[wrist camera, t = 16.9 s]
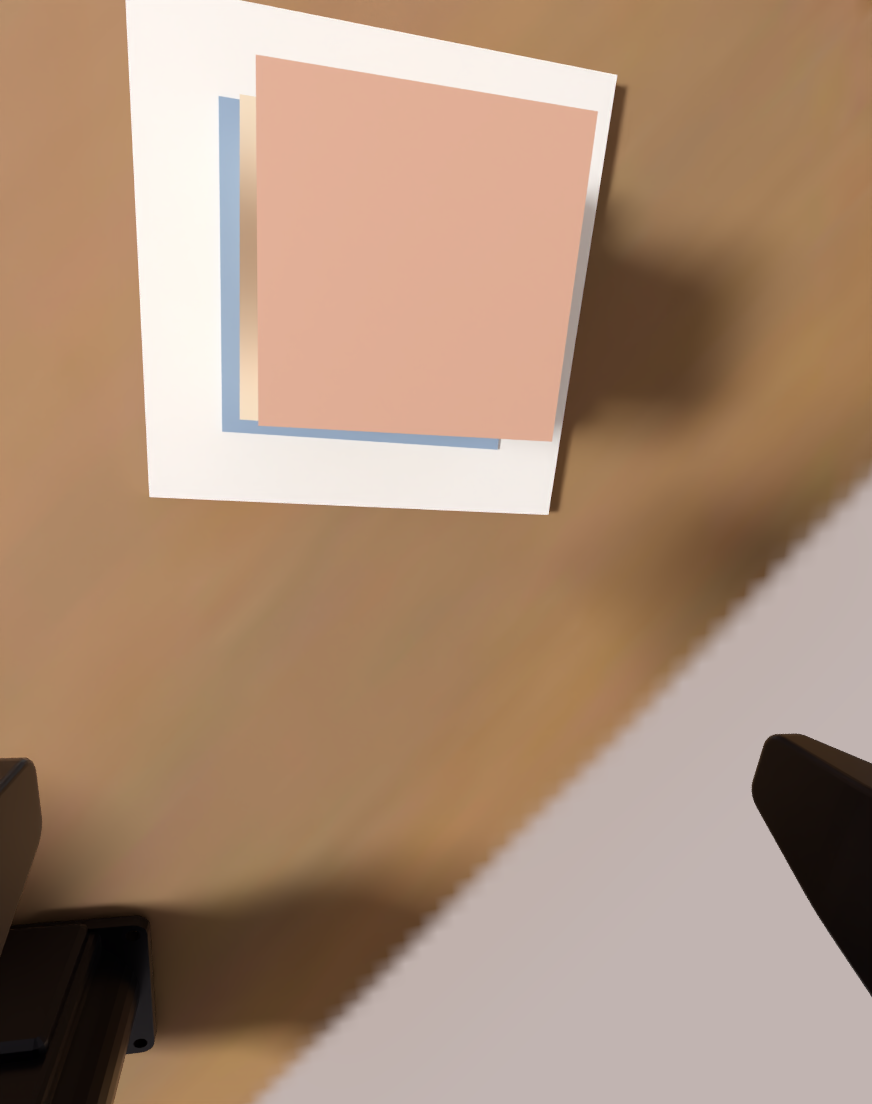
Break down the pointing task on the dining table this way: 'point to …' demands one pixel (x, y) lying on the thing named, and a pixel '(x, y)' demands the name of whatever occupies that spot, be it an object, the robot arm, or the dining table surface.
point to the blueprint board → (214, 263)
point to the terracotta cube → (413, 253)
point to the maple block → (248, 261)
